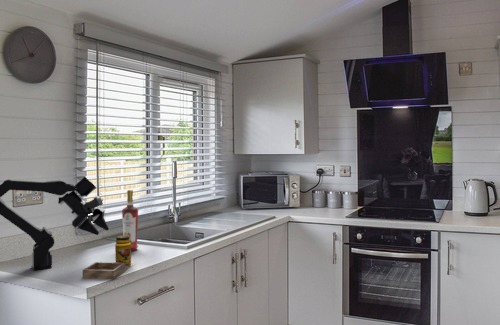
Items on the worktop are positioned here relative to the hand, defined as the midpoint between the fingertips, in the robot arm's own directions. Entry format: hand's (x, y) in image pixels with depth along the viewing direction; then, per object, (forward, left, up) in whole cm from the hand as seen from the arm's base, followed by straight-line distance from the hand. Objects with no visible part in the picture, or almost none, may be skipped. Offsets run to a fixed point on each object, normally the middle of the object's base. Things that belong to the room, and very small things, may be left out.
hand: (103, 231), depth 182 cm
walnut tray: (-4, -13, -14) cm, 19 cm away
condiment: (+6, -5, -14) cm, 16 cm away
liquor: (+19, +19, -14) cm, 30 cm away
